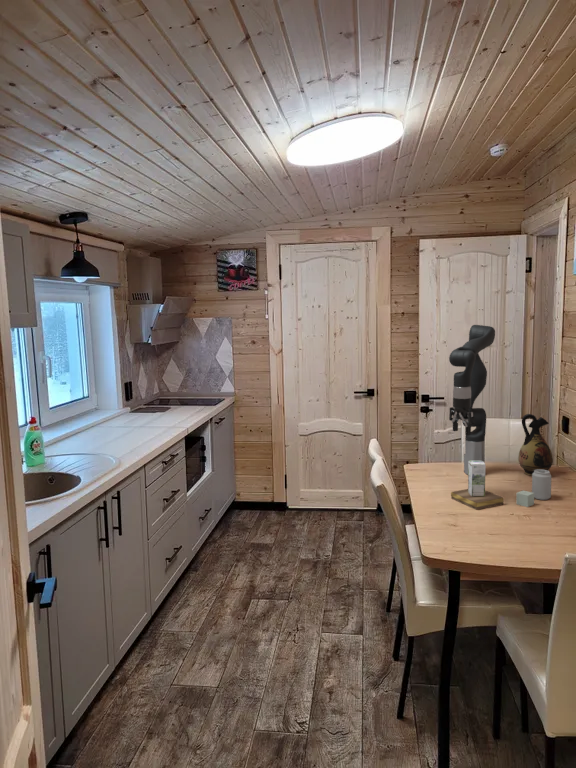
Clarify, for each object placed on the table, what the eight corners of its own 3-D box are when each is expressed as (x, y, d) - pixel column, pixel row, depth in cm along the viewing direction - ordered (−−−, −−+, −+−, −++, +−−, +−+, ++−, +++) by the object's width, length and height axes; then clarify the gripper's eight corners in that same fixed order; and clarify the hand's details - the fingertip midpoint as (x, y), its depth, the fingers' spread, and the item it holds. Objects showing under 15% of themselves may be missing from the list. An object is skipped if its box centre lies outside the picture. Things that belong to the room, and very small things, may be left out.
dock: (451, 498, 242) (451, 491, 242) (477, 493, 248) (477, 487, 247) (476, 509, 228) (476, 502, 227) (503, 504, 233) (503, 497, 232)
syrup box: (481, 492, 240) (481, 459, 238) (485, 496, 234) (485, 463, 232) (468, 492, 240) (468, 460, 239) (471, 497, 234) (471, 463, 233)
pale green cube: (516, 504, 233) (516, 492, 232) (522, 501, 236) (523, 490, 235) (527, 507, 229) (527, 495, 228) (534, 504, 232) (534, 493, 231)
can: (550, 496, 241) (551, 469, 240) (550, 501, 234) (551, 473, 233) (532, 494, 244) (532, 467, 243) (531, 499, 238) (532, 472, 236)
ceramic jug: (546, 470, 280) (548, 411, 276) (556, 478, 265) (557, 417, 261) (511, 469, 283) (512, 411, 279) (518, 478, 268) (519, 417, 264)
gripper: (480, 398, 233) (479, 435, 236) (458, 393, 247) (458, 428, 249) (465, 399, 231) (464, 437, 233) (444, 394, 244) (444, 430, 247)
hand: (461, 433), depth 241 cm, fingers open, 8 cm apart
